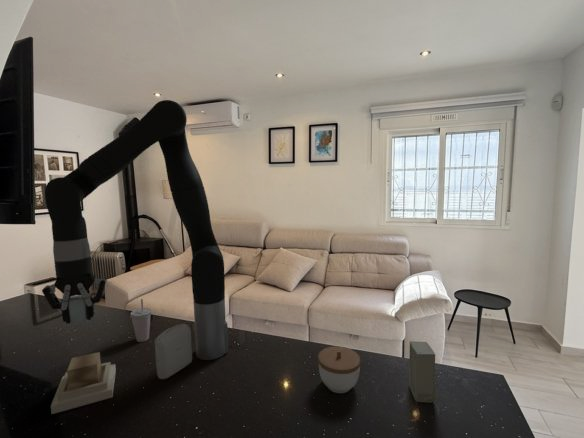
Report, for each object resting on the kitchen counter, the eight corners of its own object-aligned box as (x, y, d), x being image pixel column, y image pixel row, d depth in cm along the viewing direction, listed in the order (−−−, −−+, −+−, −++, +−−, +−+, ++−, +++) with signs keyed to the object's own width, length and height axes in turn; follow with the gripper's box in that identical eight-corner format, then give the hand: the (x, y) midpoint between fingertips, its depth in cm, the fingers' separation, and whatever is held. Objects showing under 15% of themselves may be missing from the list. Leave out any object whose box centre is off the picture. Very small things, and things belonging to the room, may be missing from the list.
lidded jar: (350, 370, 84) (351, 338, 83) (366, 397, 74) (367, 360, 72) (313, 374, 82) (313, 342, 81) (324, 402, 72) (324, 365, 71)
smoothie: (147, 344, 99) (144, 303, 97) (128, 344, 99) (125, 303, 97) (156, 334, 105) (154, 295, 103) (138, 334, 105) (135, 295, 104)
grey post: (90, 318, 81) (87, 293, 81) (87, 324, 78) (84, 298, 77) (72, 321, 80) (69, 296, 79) (68, 328, 76) (65, 301, 75)
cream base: (115, 370, 85) (114, 358, 84) (112, 397, 74) (111, 384, 74) (63, 383, 79) (62, 371, 79) (51, 414, 69) (50, 400, 68)
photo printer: (164, 381, 80) (161, 337, 78) (154, 376, 82) (151, 333, 80) (194, 362, 88) (192, 322, 87) (184, 358, 91) (182, 318, 89)
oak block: (101, 373, 80) (99, 352, 80) (98, 386, 75) (96, 363, 74) (74, 379, 78) (72, 358, 77) (69, 394, 72) (67, 370, 72)
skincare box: (434, 403, 71) (436, 355, 70) (415, 402, 71) (417, 354, 70) (425, 386, 77) (427, 341, 76) (407, 385, 78) (409, 340, 76)
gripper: (32, 263, 70) (40, 333, 72) (103, 256, 76) (109, 320, 78) (42, 256, 77) (50, 320, 79) (106, 250, 83) (112, 309, 85)
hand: (79, 320), depth 79 cm, fingers closed on grey post, 4 cm apart
